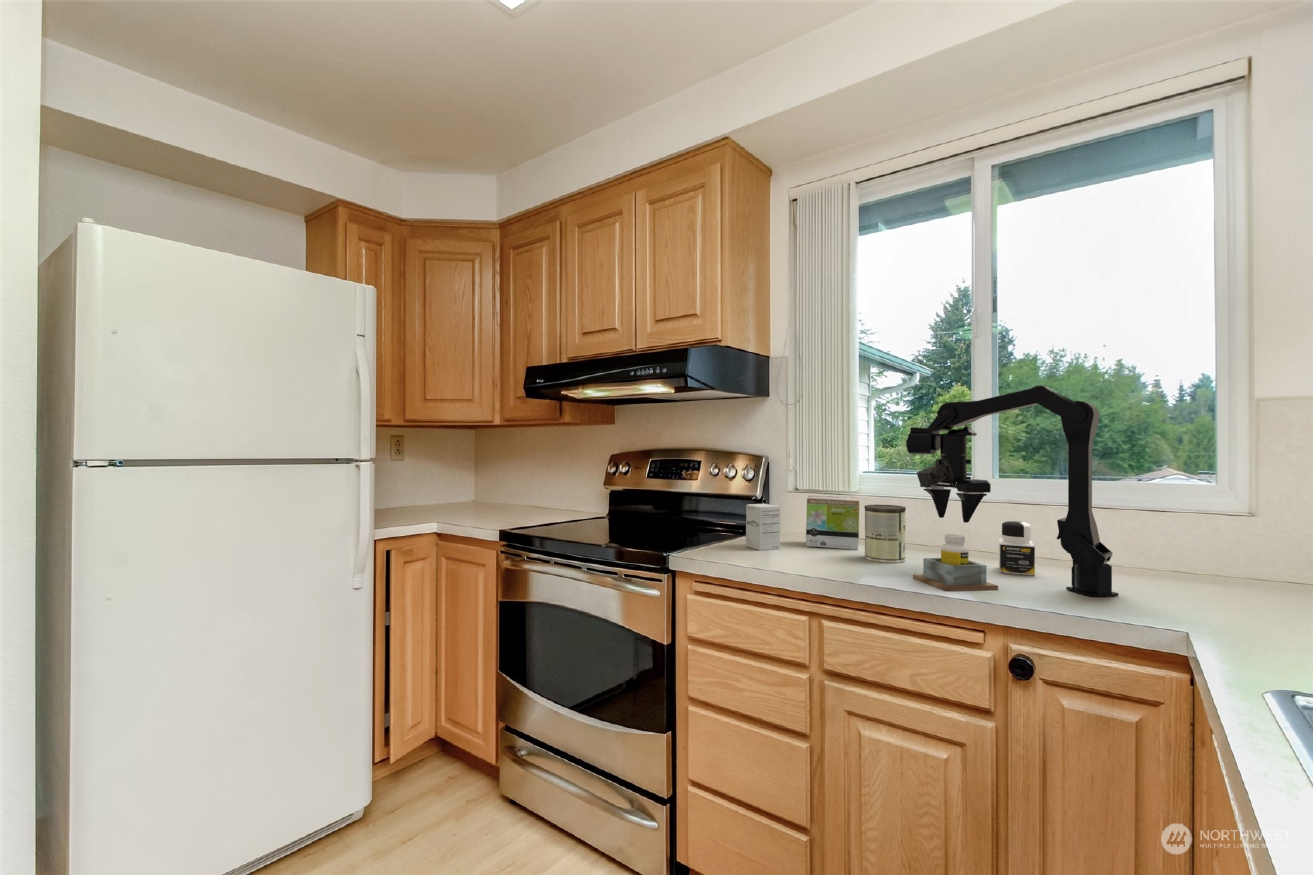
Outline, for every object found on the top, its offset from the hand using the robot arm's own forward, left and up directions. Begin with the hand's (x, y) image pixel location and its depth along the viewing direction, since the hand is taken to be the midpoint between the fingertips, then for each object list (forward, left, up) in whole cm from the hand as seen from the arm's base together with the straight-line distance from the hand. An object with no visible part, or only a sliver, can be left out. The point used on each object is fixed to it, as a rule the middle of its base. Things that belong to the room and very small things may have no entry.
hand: (953, 519), depth 143 cm
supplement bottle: (-11, +7, -12) cm, 18 cm away
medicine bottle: (-1, -16, -13) cm, 20 cm away
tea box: (+38, +13, -13) cm, 42 cm away
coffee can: (+17, +8, -13) cm, 23 cm away
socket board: (-11, +8, -12) cm, 18 cm away
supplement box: (+37, +35, -13) cm, 52 cm away
